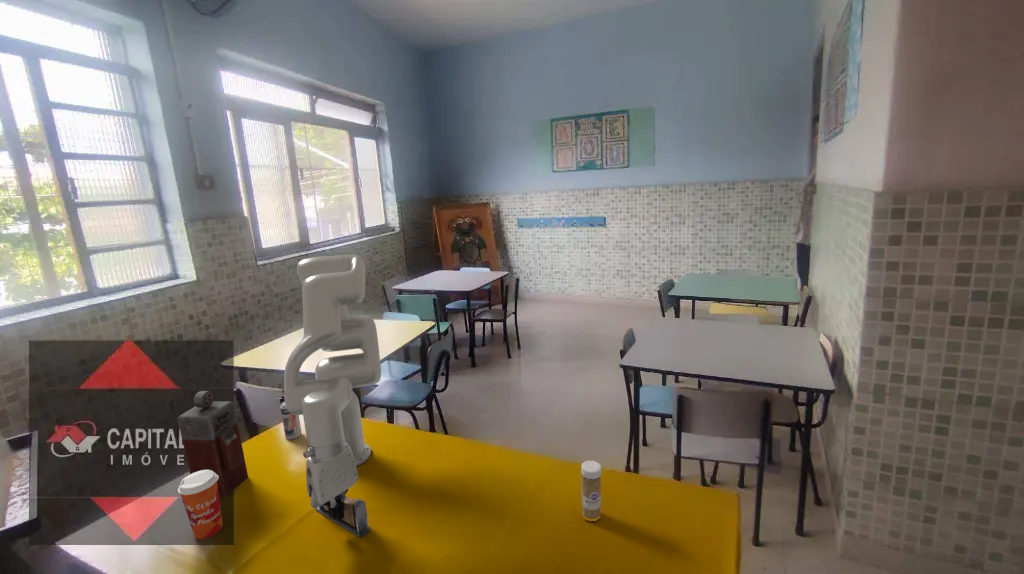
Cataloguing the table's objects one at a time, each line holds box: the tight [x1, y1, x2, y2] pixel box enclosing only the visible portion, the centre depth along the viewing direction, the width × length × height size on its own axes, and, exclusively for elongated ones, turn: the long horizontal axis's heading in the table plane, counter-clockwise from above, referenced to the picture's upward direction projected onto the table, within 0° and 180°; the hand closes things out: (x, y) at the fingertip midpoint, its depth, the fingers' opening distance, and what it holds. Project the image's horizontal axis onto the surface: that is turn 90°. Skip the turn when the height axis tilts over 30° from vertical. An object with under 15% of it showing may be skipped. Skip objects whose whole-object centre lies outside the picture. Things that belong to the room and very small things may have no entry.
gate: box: [323, 495, 358, 527], centre depth 107 cm, size 12×2×6 cm, turn 56°
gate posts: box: [315, 498, 371, 538], centre depth 107 cm, size 18×4×8 cm, turn 56°
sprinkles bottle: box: [580, 460, 602, 519], centre depth 104 cm, size 5×5×14 cm
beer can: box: [279, 401, 302, 441], centre depth 144 cm, size 5×5×12 cm
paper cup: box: [177, 470, 223, 540], centre depth 105 cm, size 8×8×14 cm
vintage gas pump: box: [177, 390, 249, 499], centre depth 119 cm, size 9×11×28 cm
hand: (337, 517), depth 103 cm, fingers closed
